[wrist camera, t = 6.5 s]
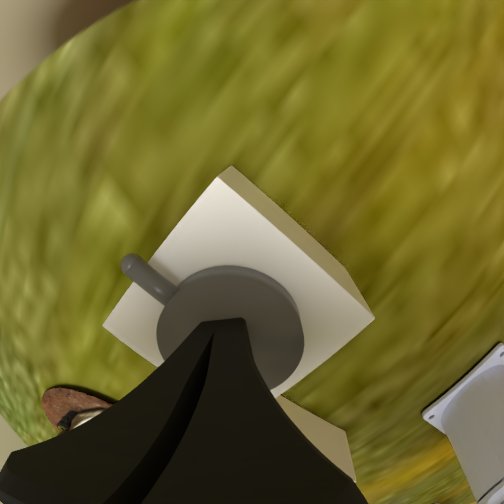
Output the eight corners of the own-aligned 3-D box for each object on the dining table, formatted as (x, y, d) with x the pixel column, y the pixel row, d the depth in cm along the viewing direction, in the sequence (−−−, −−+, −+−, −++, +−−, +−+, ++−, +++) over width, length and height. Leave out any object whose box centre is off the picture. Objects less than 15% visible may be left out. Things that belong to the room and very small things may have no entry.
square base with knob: (345, 267, 14) (375, 318, 10) (247, 356, 16) (243, 419, 12) (231, 165, 13) (217, 176, 9) (140, 276, 15) (102, 325, 10)
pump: (313, 280, 13) (334, 341, 9) (244, 344, 15) (238, 414, 10) (196, 179, 12) (162, 200, 8) (134, 260, 13) (87, 310, 9)
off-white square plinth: (345, 431, 18) (356, 481, 14) (275, 469, 20) (277, 514, 16) (274, 391, 17) (276, 452, 13) (205, 437, 19) (196, 488, 15)
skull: (50, 356, 16) (100, 511, 10) (163, 366, 24) (217, 475, 19) (16, 414, 19) (49, 519, 13) (103, 416, 27) (139, 501, 21)
